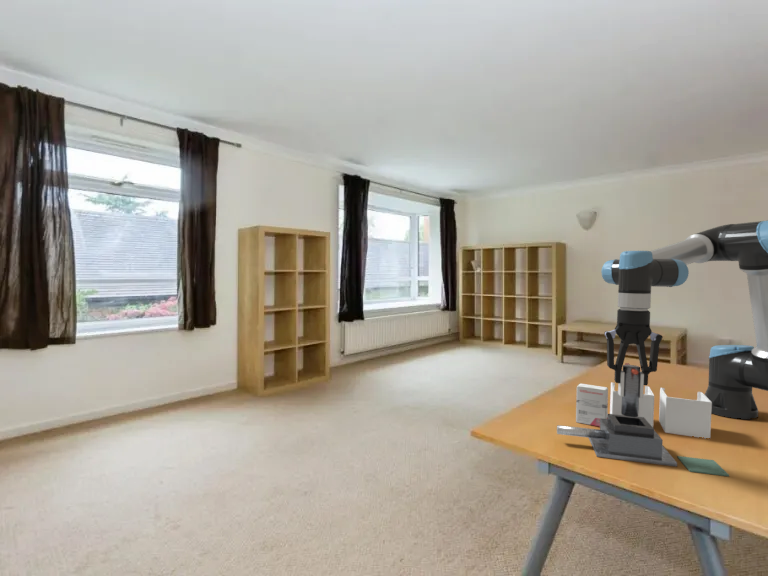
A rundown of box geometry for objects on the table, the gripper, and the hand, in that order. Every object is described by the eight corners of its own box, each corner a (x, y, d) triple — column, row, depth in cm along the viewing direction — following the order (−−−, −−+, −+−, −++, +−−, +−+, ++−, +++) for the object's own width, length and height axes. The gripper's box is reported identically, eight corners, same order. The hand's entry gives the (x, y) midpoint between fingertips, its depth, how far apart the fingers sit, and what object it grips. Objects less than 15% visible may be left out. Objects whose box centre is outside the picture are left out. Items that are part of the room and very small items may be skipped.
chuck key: (633, 409, 117) (635, 363, 116) (643, 420, 108) (645, 370, 108) (617, 408, 118) (619, 362, 117) (625, 419, 109) (627, 369, 109)
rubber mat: (713, 461, 107) (713, 460, 107) (729, 476, 100) (729, 474, 100) (677, 457, 110) (677, 455, 109) (689, 471, 102) (689, 469, 102)
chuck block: (658, 444, 118) (659, 415, 117) (676, 466, 104) (678, 435, 104) (554, 432, 126) (555, 406, 125) (559, 452, 112) (560, 422, 112)
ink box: (608, 423, 133) (609, 386, 133) (605, 428, 129) (607, 390, 129) (578, 418, 138) (579, 382, 137) (575, 422, 134) (576, 385, 133)
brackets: (611, 425, 132) (613, 390, 132) (609, 414, 142) (610, 382, 142) (710, 439, 122) (711, 402, 121) (700, 426, 132) (701, 392, 131)
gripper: (665, 308, 113) (661, 395, 114) (595, 306, 118) (593, 389, 119) (675, 311, 106) (671, 403, 107) (601, 309, 111) (598, 396, 112)
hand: (630, 395), depth 113 cm, fingers closed on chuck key, 4 cm apart
